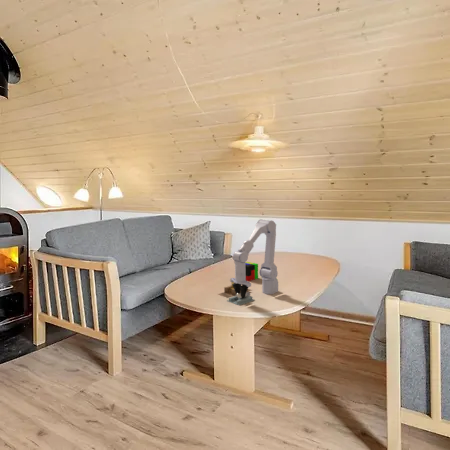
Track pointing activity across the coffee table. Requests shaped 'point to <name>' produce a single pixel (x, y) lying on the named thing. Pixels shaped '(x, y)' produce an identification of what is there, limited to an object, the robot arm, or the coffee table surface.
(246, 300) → the rack
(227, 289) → the socket block
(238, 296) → the shiny metal cylinder
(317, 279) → the coffee table surface
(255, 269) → the puzzle toy
